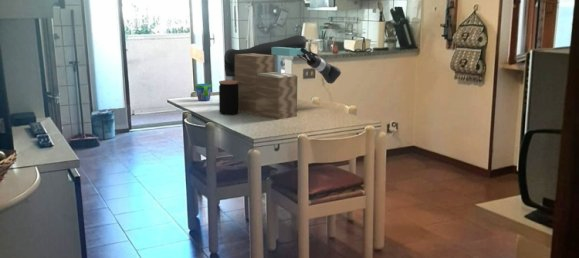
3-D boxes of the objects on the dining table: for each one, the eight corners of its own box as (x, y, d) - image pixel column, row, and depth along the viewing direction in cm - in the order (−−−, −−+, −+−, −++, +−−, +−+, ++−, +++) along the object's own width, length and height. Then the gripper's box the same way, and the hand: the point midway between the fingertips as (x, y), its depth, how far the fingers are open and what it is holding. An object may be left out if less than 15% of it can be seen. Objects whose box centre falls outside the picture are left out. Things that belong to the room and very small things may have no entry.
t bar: (289, 56, 301) (289, 48, 300) (271, 54, 310) (271, 47, 310) (313, 54, 314) (313, 47, 313) (295, 52, 323) (295, 45, 323)
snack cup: (194, 98, 365) (194, 83, 363) (211, 98, 367) (210, 82, 365) (196, 102, 350) (195, 86, 348) (213, 102, 353) (213, 85, 350)
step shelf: (278, 119, 299) (278, 58, 293) (235, 110, 324) (234, 54, 318) (296, 116, 309) (297, 57, 302) (253, 107, 334) (253, 53, 327)
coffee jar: (241, 112, 318) (241, 80, 314) (233, 115, 308) (233, 83, 304) (224, 111, 321) (224, 79, 318) (216, 114, 311) (215, 82, 308)
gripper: (309, 56, 332) (292, 42, 320) (327, 57, 322) (310, 43, 310) (305, 67, 331) (287, 54, 319) (323, 69, 321) (305, 55, 309)
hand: (298, 48), depth 315 cm, fingers closed on t bar, 4 cm apart
